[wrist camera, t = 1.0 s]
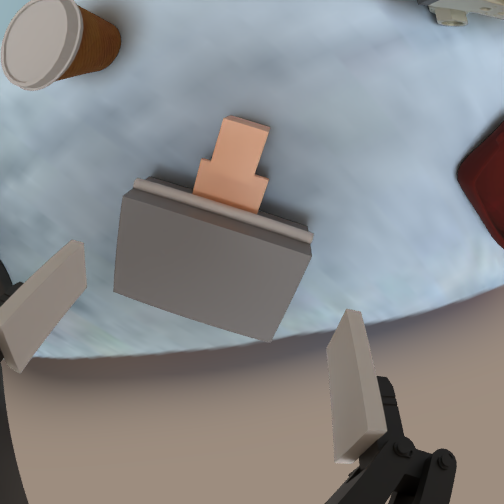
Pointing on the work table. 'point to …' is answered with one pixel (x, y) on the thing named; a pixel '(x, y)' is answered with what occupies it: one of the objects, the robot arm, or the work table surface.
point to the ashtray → (487, 182)
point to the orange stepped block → (234, 166)
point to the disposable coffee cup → (56, 43)
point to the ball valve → (463, 10)
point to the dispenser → (208, 258)
